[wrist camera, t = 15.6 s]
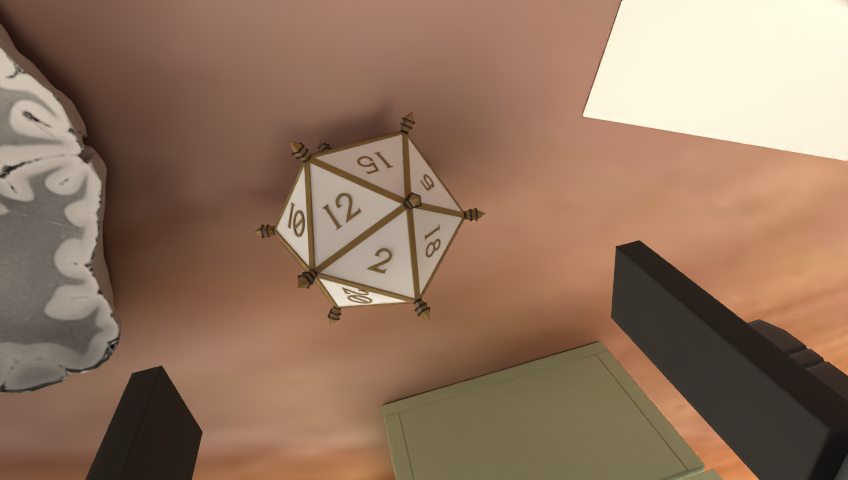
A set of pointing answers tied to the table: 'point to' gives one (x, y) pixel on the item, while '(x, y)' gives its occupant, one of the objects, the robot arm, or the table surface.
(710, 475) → the lid
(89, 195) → the brain slice
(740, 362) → the robot arm
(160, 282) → the table surface
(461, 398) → the chest
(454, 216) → the game die
